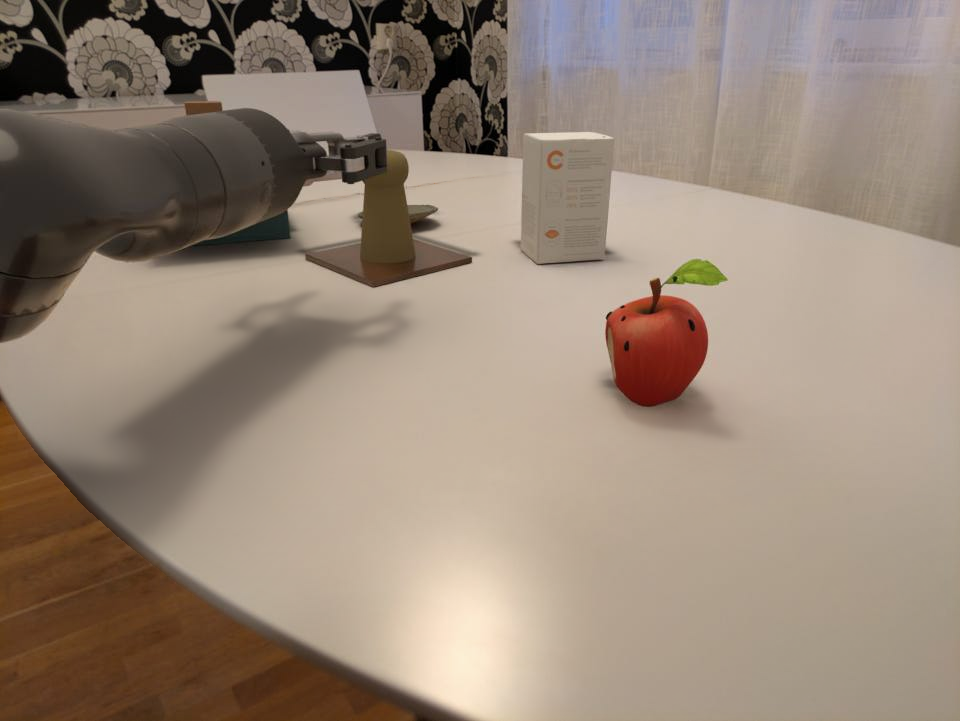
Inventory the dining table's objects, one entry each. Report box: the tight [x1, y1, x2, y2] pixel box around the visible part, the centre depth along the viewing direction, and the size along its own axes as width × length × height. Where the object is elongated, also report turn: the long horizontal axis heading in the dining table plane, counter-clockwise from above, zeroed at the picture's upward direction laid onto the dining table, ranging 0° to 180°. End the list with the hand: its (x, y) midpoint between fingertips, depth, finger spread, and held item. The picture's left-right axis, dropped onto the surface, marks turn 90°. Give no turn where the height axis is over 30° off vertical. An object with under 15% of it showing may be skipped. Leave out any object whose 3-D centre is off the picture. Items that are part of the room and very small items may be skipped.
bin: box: [189, 209, 291, 247], centre depth 83 cm, size 16×14×8 cm
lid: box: [357, 204, 439, 225], centre depth 88 cm, size 11×10×5 cm
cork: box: [360, 149, 416, 264], centre depth 71 cm, size 6×6×11 cm
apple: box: [604, 258, 729, 408], centre depth 42 cm, size 8×7×10 cm
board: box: [304, 238, 473, 288], centre depth 73 cm, size 13×13×1 cm
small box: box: [520, 131, 615, 265], centre depth 73 cm, size 8×6×13 cm
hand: (332, 143), depth 58 cm, fingers open, 8 cm apart
